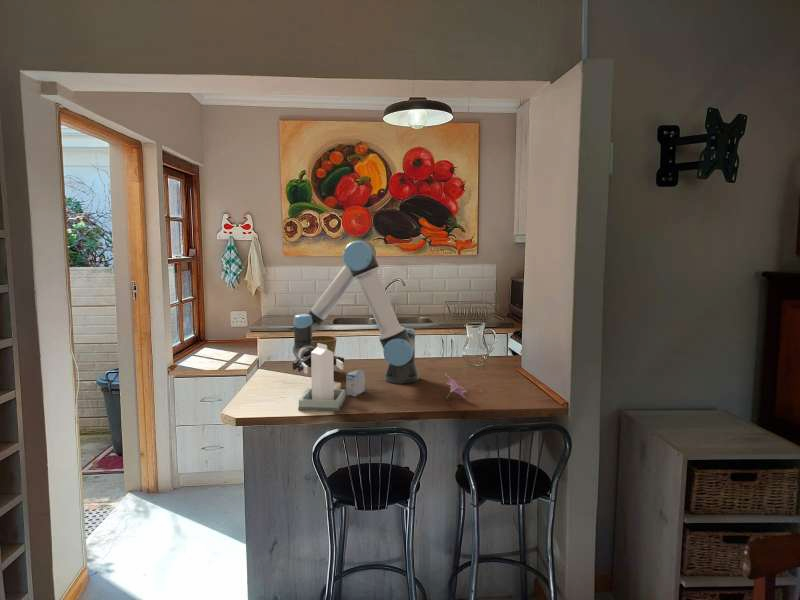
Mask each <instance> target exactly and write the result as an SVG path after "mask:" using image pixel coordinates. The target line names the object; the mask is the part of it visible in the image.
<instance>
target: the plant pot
mask: <svg viewBox="0 0 800 600" xmlns="http://www.w3.org/2000/svg"><path fill="white" fill-rule="evenodd" d="M317 343H320V344H324V345H327V349H328V350H330V351H332V352H333V356H335V351H336V346H337V337H336V336H333V335H314V336H313V335H312V347H314V348H317Z"/></svg>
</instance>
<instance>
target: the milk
mask: <svg viewBox="0 0 800 600" xmlns="http://www.w3.org/2000/svg"><path fill="white" fill-rule="evenodd" d="M334 366H335V365H333V352H332V351H330V350H328V349H327V345H324V344H320V343H317V348H315V349H314V350H313V351H312V352H311V367H310V369H311V389H312V400H334V389H335V386H334V385H335V384H334V383H335V382H334V381H335V380H334V376H335V375H334V373H335V371H334V369H335V368H334Z"/></svg>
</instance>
